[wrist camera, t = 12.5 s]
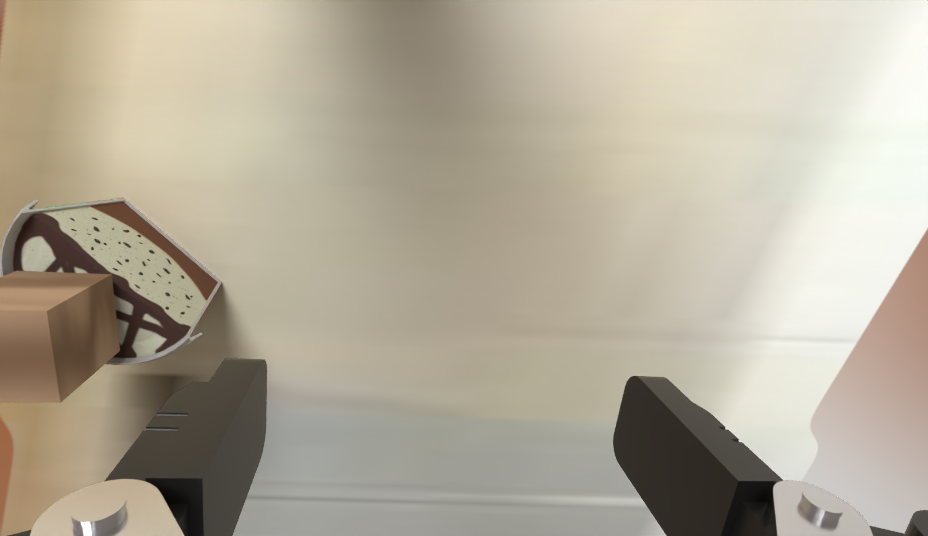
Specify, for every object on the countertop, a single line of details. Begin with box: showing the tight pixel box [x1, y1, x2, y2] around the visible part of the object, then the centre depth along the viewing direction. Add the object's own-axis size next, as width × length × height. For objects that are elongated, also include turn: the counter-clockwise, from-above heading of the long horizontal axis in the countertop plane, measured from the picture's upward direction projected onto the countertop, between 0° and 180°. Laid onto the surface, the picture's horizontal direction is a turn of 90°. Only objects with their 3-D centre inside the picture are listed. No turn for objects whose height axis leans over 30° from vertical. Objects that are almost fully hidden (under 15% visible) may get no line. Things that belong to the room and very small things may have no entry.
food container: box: [0, 198, 222, 365], centre depth 35 cm, size 12×6×10 cm, turn 41°
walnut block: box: [0, 271, 120, 403], centre depth 27 cm, size 5×5×6 cm
